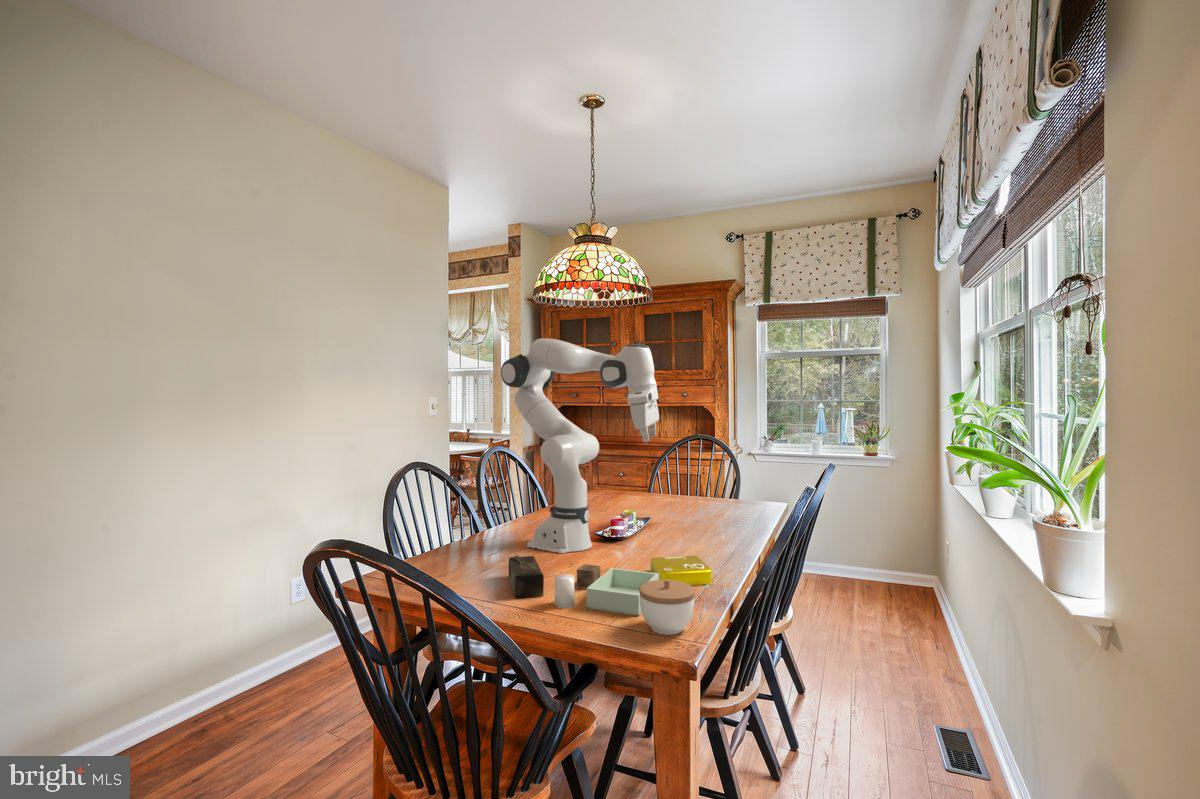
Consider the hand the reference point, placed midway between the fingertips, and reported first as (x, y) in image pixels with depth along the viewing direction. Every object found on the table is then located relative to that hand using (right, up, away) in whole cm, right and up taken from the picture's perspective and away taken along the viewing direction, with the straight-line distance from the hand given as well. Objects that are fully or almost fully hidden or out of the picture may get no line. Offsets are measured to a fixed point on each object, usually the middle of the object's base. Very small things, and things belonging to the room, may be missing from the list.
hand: (650, 439), depth 181 cm
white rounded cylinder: (-25, -40, -33) cm, 57 cm away
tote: (-9, -39, -30) cm, 51 cm away
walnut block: (-19, -39, -19) cm, 47 cm away
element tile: (+8, -40, -12) cm, 42 cm away
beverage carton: (-36, -40, -19) cm, 57 cm away
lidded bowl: (0, -40, -48) cm, 62 cm away
